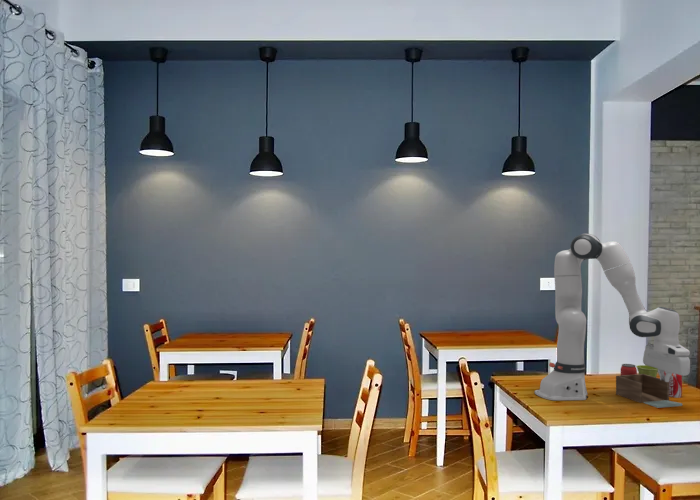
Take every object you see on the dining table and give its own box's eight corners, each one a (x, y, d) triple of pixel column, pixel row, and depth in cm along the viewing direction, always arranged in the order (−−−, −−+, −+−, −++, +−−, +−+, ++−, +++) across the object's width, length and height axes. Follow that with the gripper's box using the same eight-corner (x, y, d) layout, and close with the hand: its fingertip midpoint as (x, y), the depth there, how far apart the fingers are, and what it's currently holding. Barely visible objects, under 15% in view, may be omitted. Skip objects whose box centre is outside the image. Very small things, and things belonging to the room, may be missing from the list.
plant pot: (632, 382, 258) (632, 364, 258) (652, 383, 257) (652, 365, 257) (642, 387, 248) (642, 369, 248) (663, 388, 248) (663, 369, 248)
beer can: (622, 392, 239) (622, 366, 239) (618, 389, 246) (618, 363, 246) (638, 393, 238) (638, 366, 238) (634, 390, 244) (634, 363, 244)
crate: (640, 405, 220) (640, 383, 220) (616, 396, 233) (616, 375, 233) (668, 403, 223) (668, 381, 223) (643, 394, 236) (643, 373, 236)
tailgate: (642, 405, 220) (657, 408, 212) (642, 402, 220) (657, 405, 213) (666, 403, 223) (682, 406, 215) (665, 400, 223) (682, 403, 216)
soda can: (684, 400, 227) (684, 372, 227) (666, 399, 228) (666, 371, 228) (678, 396, 234) (678, 369, 234) (660, 395, 235) (660, 368, 235)
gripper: (639, 342, 227) (638, 375, 228) (680, 352, 208) (679, 387, 208) (652, 342, 229) (650, 374, 229) (693, 352, 209) (692, 387, 209)
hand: (664, 381), depth 218 cm, fingers closed
